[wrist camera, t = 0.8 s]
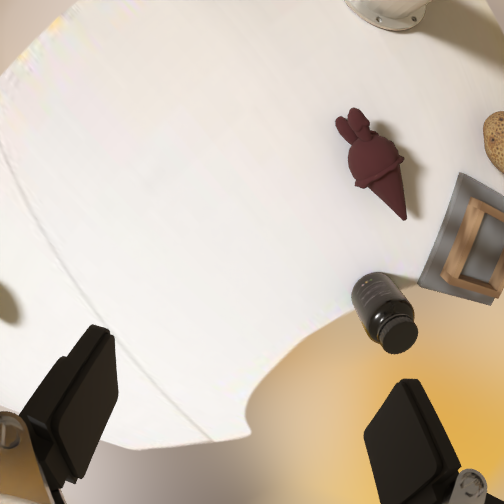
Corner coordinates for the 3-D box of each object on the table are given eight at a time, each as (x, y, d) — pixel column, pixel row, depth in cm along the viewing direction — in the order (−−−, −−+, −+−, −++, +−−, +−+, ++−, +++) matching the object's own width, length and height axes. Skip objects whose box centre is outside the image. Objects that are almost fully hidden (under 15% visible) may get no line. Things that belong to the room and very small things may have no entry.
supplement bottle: (399, 294, 44) (432, 341, 33) (362, 318, 46) (386, 370, 34) (381, 261, 42) (415, 304, 31) (341, 287, 44) (364, 337, 32)
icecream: (440, 205, 32) (379, 92, 29) (400, 240, 32) (331, 119, 29) (409, 203, 39) (353, 107, 36) (371, 233, 39) (310, 133, 36)
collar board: (459, 172, 37) (475, 177, 33) (525, 211, 38) (540, 218, 34) (417, 283, 43) (428, 296, 39) (487, 302, 44) (499, 314, 40)
